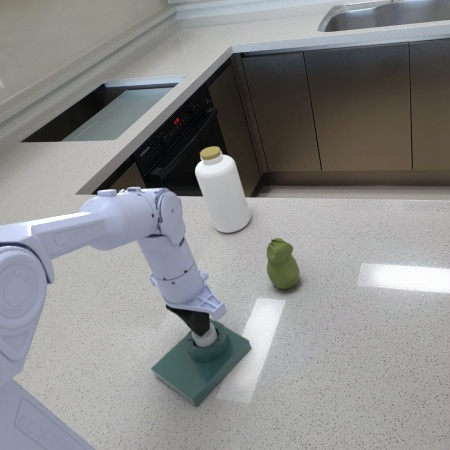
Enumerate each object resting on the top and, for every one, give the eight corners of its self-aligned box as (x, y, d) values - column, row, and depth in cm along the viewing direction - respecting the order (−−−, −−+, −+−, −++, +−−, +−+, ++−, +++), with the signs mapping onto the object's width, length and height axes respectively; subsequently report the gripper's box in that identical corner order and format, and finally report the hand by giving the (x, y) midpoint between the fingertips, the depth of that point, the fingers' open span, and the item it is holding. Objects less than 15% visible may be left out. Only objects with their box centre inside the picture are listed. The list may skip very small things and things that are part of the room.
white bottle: (208, 233, 100) (181, 161, 89) (224, 211, 106) (201, 141, 95) (242, 236, 97) (219, 162, 86) (257, 212, 103) (237, 141, 92)
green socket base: (196, 407, 66) (188, 391, 64) (155, 375, 72) (145, 360, 70) (251, 348, 73) (245, 331, 71) (209, 323, 79) (203, 308, 76)
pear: (288, 269, 86) (277, 227, 80) (308, 281, 83) (298, 238, 77) (266, 286, 84) (253, 245, 78) (286, 299, 80) (274, 257, 74)
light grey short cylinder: (206, 352, 70) (202, 343, 68) (190, 342, 72) (186, 334, 70) (222, 335, 72) (219, 327, 70) (207, 326, 74) (203, 318, 72)
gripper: (230, 264, 61) (254, 331, 69) (163, 234, 69) (191, 297, 77) (191, 299, 56) (221, 366, 65) (125, 262, 65) (158, 326, 73)
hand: (202, 330), depth 70 cm, fingers closed, pressing on light grey short cylinder
